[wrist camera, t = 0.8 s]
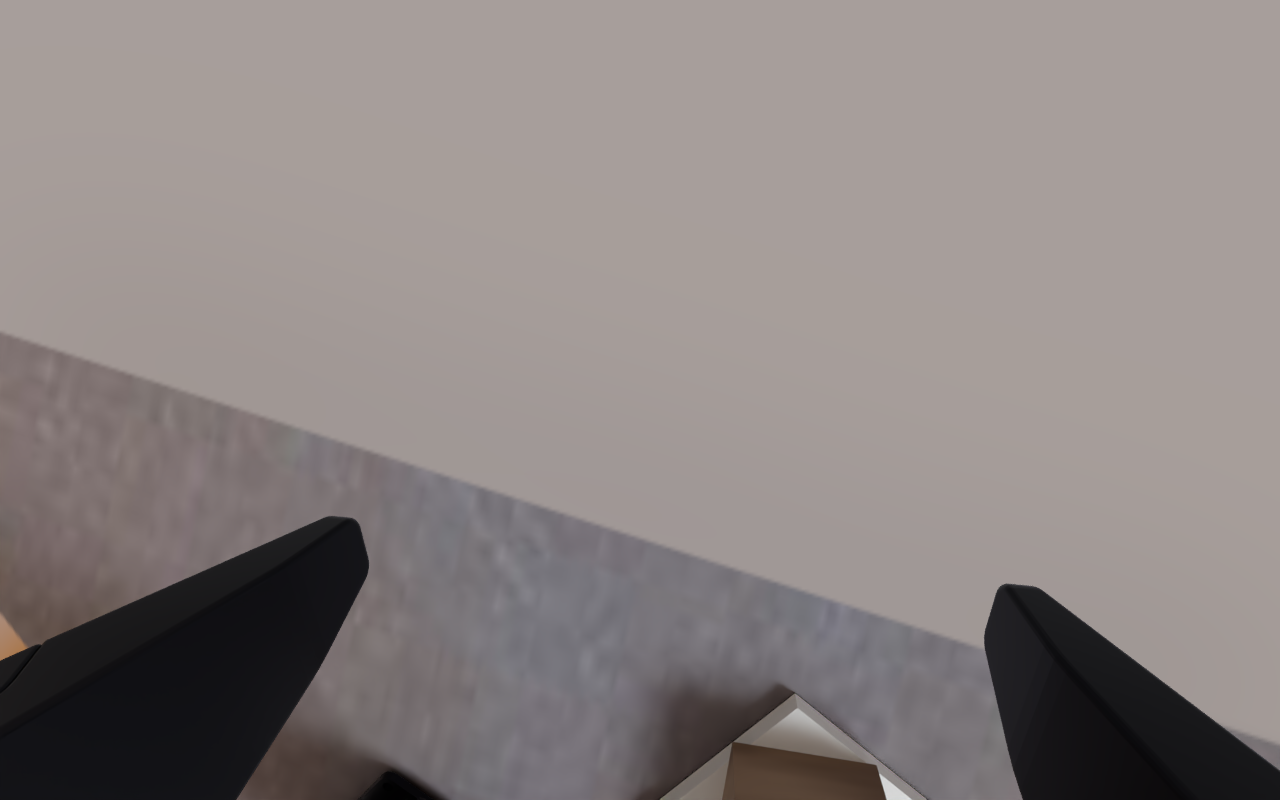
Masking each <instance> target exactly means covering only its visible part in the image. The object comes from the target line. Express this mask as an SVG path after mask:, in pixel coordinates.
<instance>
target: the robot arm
mask: <svg viewBox="0 0 1280 800" xmlns="http://www.w3.org/2000/svg"><path fill="white" fill-rule="evenodd" d="M368 569H369V560H368V555H367V551H366V548H365V544H364V540H363V536H362V532H361V528H360V525H359V523H358V522H357V521H356V520H355V519H353V518H347V517H337V516H328V517H325V518H323V519H320V520H318V521H316V522H313V523H311V524H309V525H307V526H304V527H302V528H300V529H298V530H295V531H293V532H291V533H289V534H286V535H284V536H282V537H279V538H277V539H275V540H273V541H270V542H268V543H266V544H264V545H261V546H259V547H257V548H255V549H252V550H250V551H248V552H245V553H243V554H241V555H239V556H236V557H234V558H232V559H230V560H227V561H225V562H223V563H221V564H218V565H216V566H214V567H211V568H209V569H207V570H205V571H202V572H200V573H198V574H196V575H193V576H191V577H189V578H187V579H184V580H182V581H180V582H178V583H175V584H173V585H171V586H168V587H166V588H164V589H162V590H159V591H157V592H155V593H153V594H150V595H148V596H146V597H144V598H141V599H139V600H137V601H134V602H132V603H130V604H128V605H125V606H123V607H121V608H119V609H116V610H114V611H112V612H110V613H107V614H105V615H103V616H100V617H98V618H96V619H94V620H91V621H89V622H87V623H85V624H82V625H80V626H78V627H76V628H73V629H71V630H69V631H66V632H64V633H62V634H60V635H57V636H55V637H53V638H51V639H48V640H46V641H45V642H44V643H43V644H42V645H39V644H38V645H34V646H32V647H30V648H28V649H25V650H23V651H21V652H19V653H16V654H14V655H12V656H10V657H8V658H5V659H3V660H1V661H0V800H236V799H237V798H238V796H239V795H240V793H241V791H242V790H243V788H244V787H245V785H246V784H247V782H248V780H249V779H250V777H251V776H252V774H253V773H254V771H255V769H256V768H257V766H258V765H259V763H260V762H261V760H262V758H263V757H264V755H265V754H266V752H267V751H268V749H269V747H270V746H271V744H272V743H273V741H274V740H275V738H276V736H277V735H278V733H279V732H280V730H281V729H282V727H283V725H284V724H285V722H286V721H287V719H288V718H289V716H290V715H291V713H292V711H293V710H294V708H295V707H296V705H297V704H298V702H299V700H300V699H301V697H302V696H303V694H304V693H305V691H306V689H307V688H308V686H309V685H310V683H311V681H312V680H313V678H314V676H315V675H316V673H317V671H318V670H319V668H320V666H321V664H322V663H323V661H324V659H325V657H326V655H327V654H328V652H329V650H330V648H331V646H332V644H333V642H334V640H335V638H336V636H337V634H338V632H339V630H340V628H341V626H342V624H343V622H344V620H345V618H346V616H347V614H348V612H349V611H350V609H351V607H352V605H353V603H354V601H355V599H356V597H357V595H358V593H359V591H360V589H361V587H362V585H363V583H364V581H365V579H366V577H367V574H368ZM984 644H985V651H986V656H987V660H988V665H989V669H990V673H991V678H992V682H993V686H994V691H995V695H996V700H997V704H998V708H999V713H1000V717H1001V721H1002V726H1003V730H1004V734H1005V739H1006V743H1007V747H1008V751H1009V755H1010V759H1011V763H1012V767H1013V771H1014V774H1015V777H1016V780H1017V783H1018V786H1019V789H1020V792H1021V795H1022V798H1023V800H1280V770H1279V769H1277V768H1276V767H1275V766H1273V765H1272V764H1271V763H1269V762H1268V761H1267V760H1265V759H1264V758H1263V757H1261V756H1260V755H1259V754H1257V753H1256V752H1255V751H1253V750H1252V749H1251V748H1250V747H1248V746H1247V745H1246V744H1244V743H1243V742H1242V741H1240V740H1239V739H1238V738H1236V737H1235V736H1234V735H1232V734H1231V733H1230V732H1228V731H1227V730H1226V729H1224V728H1223V727H1222V726H1221V725H1219V724H1218V723H1217V722H1215V721H1214V720H1213V719H1211V718H1210V717H1209V716H1207V715H1206V714H1205V713H1203V712H1202V711H1201V710H1199V709H1198V708H1197V707H1195V706H1194V705H1193V704H1191V703H1190V702H1189V701H1187V700H1186V699H1185V698H1184V697H1182V696H1181V695H1179V694H1178V693H1177V692H1176V691H1174V690H1173V689H1172V688H1170V687H1169V686H1168V685H1166V684H1165V683H1164V682H1162V681H1161V680H1160V679H1159V678H1157V677H1156V676H1155V675H1153V674H1152V673H1150V672H1149V671H1148V670H1147V669H1145V668H1144V667H1143V666H1141V665H1140V664H1139V663H1137V662H1136V661H1135V660H1134V659H1132V658H1131V657H1130V656H1128V655H1127V654H1126V653H1124V652H1123V651H1122V650H1120V649H1119V648H1118V647H1116V646H1115V645H1114V644H1112V643H1111V642H1110V641H1108V640H1107V639H1106V638H1104V637H1103V636H1102V635H1100V634H1099V633H1098V632H1096V631H1095V630H1094V629H1093V628H1091V627H1090V626H1089V625H1087V624H1086V623H1085V622H1083V621H1082V620H1081V619H1079V618H1078V617H1077V616H1075V615H1074V614H1073V613H1071V612H1070V611H1069V610H1068V609H1066V608H1065V607H1064V606H1062V605H1061V604H1060V603H1058V602H1057V601H1056V600H1054V599H1053V598H1052V597H1050V596H1049V595H1048V594H1046V593H1045V592H1044V591H1042V590H1041V589H1039V588H1037V587H1033V586H1025V585H1016V584H1004V585H1002V586H1000V587H999V589H998V590H997V593H996V595H995V599H994V602H993V606H992V609H991V612H990V616H989V619H988V623H987V626H986V629H985V635H984ZM358 800H433V799H432V798H430V797H429V796H427V795H426V794H425V793H423V792H422V791H420V790H419V789H418V788H416V787H415V786H413V785H412V784H410V783H409V782H408V781H406V780H405V779H403V778H402V777H401V776H399V775H398V774H396V773H394V772H386V773H384V774H383V775H382V776H381V777H380V778H379V779H378V780H377V781H376V782H375V783H374V784H373V785H372V786H371V787H370V788H369V789H368V790H367V791H366V792H365V793H364V794H363V795H362V796H361V797H360V798H359V799H358Z"/></svg>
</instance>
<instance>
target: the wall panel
mask: <svg viewBox="0 0 1280 800" xmlns="http://www.w3.org/2000/svg"><path fill="white" fill-rule="evenodd" d="M733 742H738V743H744V744H750V745H756V746H762V747H768V748H775V749H781V750H787V751H793V752H799V753H806V754H812V755H818V756H824V757H830V758H837V759H843V760H849V761H855V762H861V763H868V764H874V765H877V768H878V772H879V775H880V779H881V782H882V785H883V789H884V792H885V795H886V799H887V800H927V799H926V798H925V797H923V796H922V795H921V794H920V793H918V792H917V791H916V790H915V789H913V788H912V787H911V786H910V785H908V784H907V783H906V782H905V781H903V780H902V779H901V778H900V777H899V776H897V775H896V774H895V773H894V772H892V771H891V770H890V769H889V768H887V767H886V766H885V765H884V764H882V763H881V762H880V761H879V760H877V759H876V758H875V757H874V756H872V755H871V754H870V753H869V752H867V751H866V750H865V749H864V748H862V747H861V746H860V745H859V744H858V743H856V742H855V741H854V740H853V739H851V738H850V737H849V736H848V735H846V734H845V733H844V732H843V731H841V730H840V729H839V728H838V727H836V726H835V725H834V724H833V723H831V722H830V721H829V720H828V719H826V718H825V717H824V716H823V715H821V714H820V713H819V712H818V711H817V710H815V709H814V708H813V707H812V706H810V705H809V704H808V703H807V702H805V701H804V700H803V699H802V698H800V697H799V696H798V695H797V694H793V695H792V696H791V697H790V698H788V699H787V700H786V701H784V702H783V703H782V704H781V705H779V706H778V707H777V708H776V709H774V710H773V711H772V712H770V713H769V714H768V715H767V716H765V717H764V718H763V719H762V720H760V721H759V722H758V723H756V724H755V725H754V726H753V727H751V728H750V729H749V730H748V731H746V732H745V733H744V734H742V735H741V736H740V737H739V738H737V739H736V740H735V741H733ZM731 747H732V743H731V744H730V745H728V746H727V747H726V748H725V749H723V750H722V751H721V752H719V753H718V754H717V755H716V756H714V757H713V758H712V759H711V760H709V761H708V762H707V763H705V764H704V765H703V766H702V767H700V768H699V769H698V770H697V771H695V772H694V773H693V774H691V775H690V776H689V777H688V778H686V779H685V780H684V781H682V782H681V783H680V784H679V785H677V786H676V787H675V788H674V789H672V790H671V791H670V792H668V793H667V794H666V795H665V796H663V797H662V798H661V799H660V800H722V797H723V791H724V786H725V780H726V775H727V769H728V764H729V758H730V753H731Z"/></svg>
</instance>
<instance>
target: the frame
mask: <svg viewBox="0 0 1280 800" xmlns="http://www.w3.org/2000/svg"><path fill="white" fill-rule="evenodd" d="M722 800H887V799H886V795H885V792H884V789H883V785H882V782H881V779H880V775H879V772H878V768H877V765H874V764H868V763H861V762H855V761H849V760H843V759H837V758H830V757H824V756H818V755H812V754H806V753H799V752H793V751H787V750H781V749H775V748H768V747H762V746H756V745H750V744H744V743H738V742H732V747H731V753H730V758H729V764H728V769H727V775H726V780H725V786H724V791H723V797H722Z"/></svg>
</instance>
